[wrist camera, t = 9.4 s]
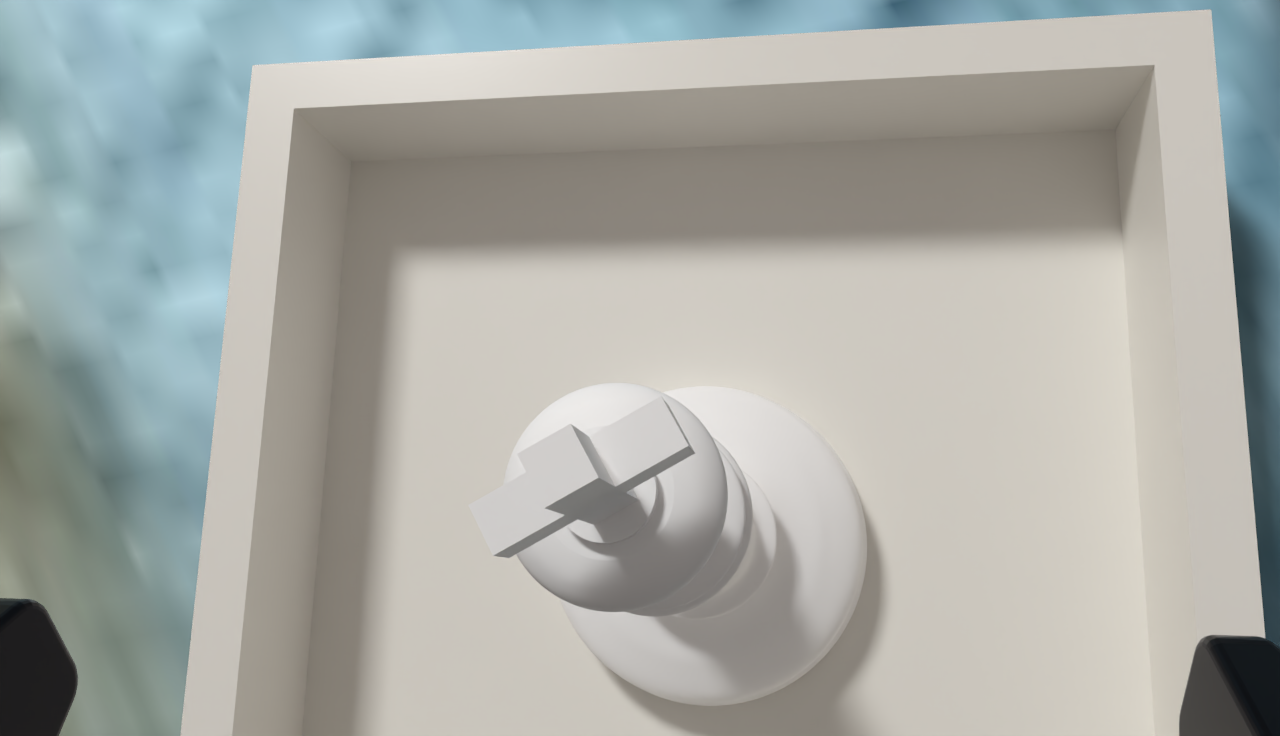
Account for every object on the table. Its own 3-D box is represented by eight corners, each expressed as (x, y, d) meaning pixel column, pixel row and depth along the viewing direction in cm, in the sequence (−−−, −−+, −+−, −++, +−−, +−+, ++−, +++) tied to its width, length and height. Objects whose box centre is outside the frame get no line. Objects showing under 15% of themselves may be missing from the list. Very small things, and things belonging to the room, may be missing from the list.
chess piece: (928, 607, 17) (1070, 614, 7) (644, 763, 17) (397, 982, 7) (766, 334, 18) (696, 17, 8) (504, 482, 18) (134, 343, 8)
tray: (1221, 1069, 15) (1311, 1177, 13) (257, 980, 18) (146, 1053, 15) (1150, 102, 18) (1210, 9, 15) (332, 139, 21) (252, 65, 18)
